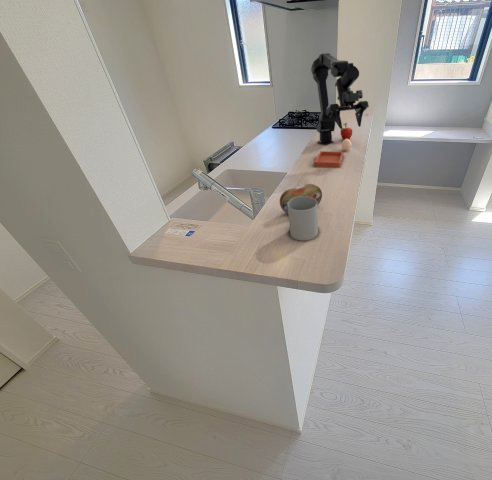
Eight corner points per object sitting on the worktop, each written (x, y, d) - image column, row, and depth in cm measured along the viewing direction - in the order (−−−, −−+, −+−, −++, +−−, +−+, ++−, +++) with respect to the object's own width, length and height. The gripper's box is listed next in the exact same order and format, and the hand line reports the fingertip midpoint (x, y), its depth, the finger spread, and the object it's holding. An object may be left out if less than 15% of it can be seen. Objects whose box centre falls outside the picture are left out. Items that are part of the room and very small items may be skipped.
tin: (283, 217, 88) (280, 194, 83) (279, 213, 90) (277, 190, 85) (322, 205, 93) (322, 183, 88) (318, 202, 96) (317, 180, 91)
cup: (318, 225, 83) (318, 196, 78) (317, 240, 77) (316, 210, 71) (292, 224, 84) (289, 196, 78) (288, 240, 78) (285, 210, 72)
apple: (339, 138, 157) (340, 120, 152) (351, 138, 157) (352, 119, 151) (340, 142, 151) (341, 123, 145) (352, 141, 151) (354, 123, 145)
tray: (320, 155, 135) (320, 151, 134) (343, 156, 133) (343, 151, 132) (314, 166, 124) (314, 161, 122) (339, 167, 121) (339, 162, 120)
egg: (342, 148, 142) (343, 137, 139) (352, 149, 141) (352, 137, 137) (340, 151, 139) (340, 139, 135) (349, 152, 137) (350, 140, 133)
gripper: (331, 84, 108) (338, 123, 110) (372, 80, 113) (378, 118, 115) (322, 96, 119) (329, 132, 121) (359, 93, 124) (365, 127, 125)
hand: (350, 127), depth 120 cm, fingers open, 9 cm apart
